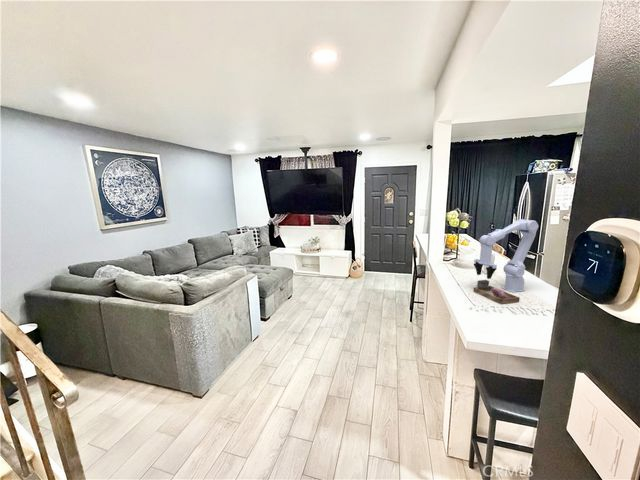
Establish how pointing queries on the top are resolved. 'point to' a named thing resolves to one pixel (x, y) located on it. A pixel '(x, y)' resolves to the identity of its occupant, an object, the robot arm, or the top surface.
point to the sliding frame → (484, 286)
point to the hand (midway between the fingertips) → (483, 276)
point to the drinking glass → (491, 262)
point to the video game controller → (498, 293)
